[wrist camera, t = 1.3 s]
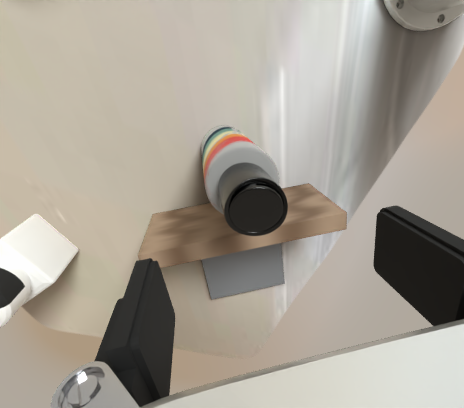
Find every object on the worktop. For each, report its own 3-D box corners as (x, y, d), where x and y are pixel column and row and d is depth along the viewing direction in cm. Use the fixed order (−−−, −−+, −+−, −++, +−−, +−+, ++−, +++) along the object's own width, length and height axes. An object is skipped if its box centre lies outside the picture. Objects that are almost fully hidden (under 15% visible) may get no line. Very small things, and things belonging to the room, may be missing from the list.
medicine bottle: (-3, 241, 34) (-98, 311, 23) (37, 211, 33) (-42, 268, 22) (43, 276, 37) (-23, 353, 26) (81, 248, 36) (30, 316, 25)
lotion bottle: (252, 134, 33) (323, 181, 14) (236, 175, 35) (281, 264, 16) (209, 118, 31) (228, 148, 13) (195, 161, 33) (194, 242, 15)
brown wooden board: (308, 183, 36) (346, 212, 27) (309, 196, 37) (346, 229, 28) (152, 214, 35) (137, 255, 26) (156, 226, 36) (143, 271, 27)
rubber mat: (276, 215, 38) (278, 217, 37) (283, 280, 43) (284, 283, 42) (195, 231, 37) (195, 234, 36) (211, 295, 42) (211, 299, 41)
